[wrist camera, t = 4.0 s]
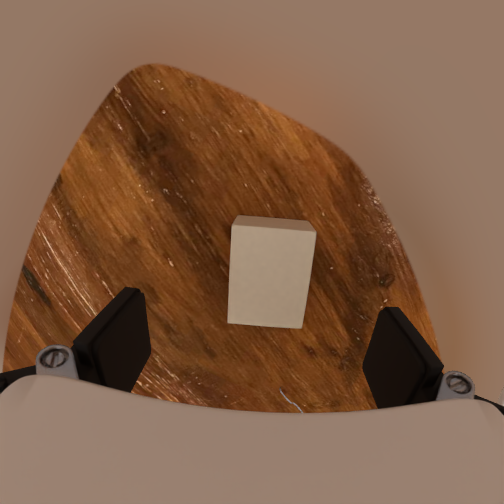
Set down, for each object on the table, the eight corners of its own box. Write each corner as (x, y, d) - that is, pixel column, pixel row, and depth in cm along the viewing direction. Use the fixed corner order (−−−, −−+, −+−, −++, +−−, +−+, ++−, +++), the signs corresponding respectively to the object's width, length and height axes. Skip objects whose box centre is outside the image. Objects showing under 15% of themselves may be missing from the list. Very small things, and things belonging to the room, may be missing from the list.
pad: (237, 214, 18) (231, 224, 15) (308, 220, 18) (316, 231, 15) (233, 300, 20) (227, 323, 17) (297, 305, 19) (301, 328, 17)
